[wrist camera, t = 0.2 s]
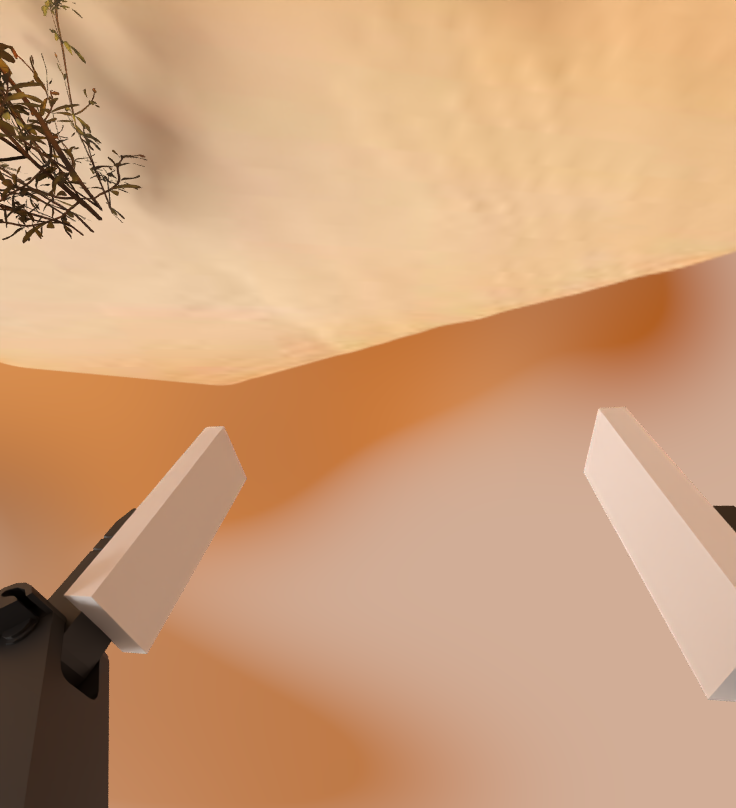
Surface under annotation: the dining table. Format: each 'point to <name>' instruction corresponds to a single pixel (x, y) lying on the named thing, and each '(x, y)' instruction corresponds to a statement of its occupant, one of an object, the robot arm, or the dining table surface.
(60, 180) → the dried plant
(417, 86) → the dining table surface
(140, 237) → the dining table surface
